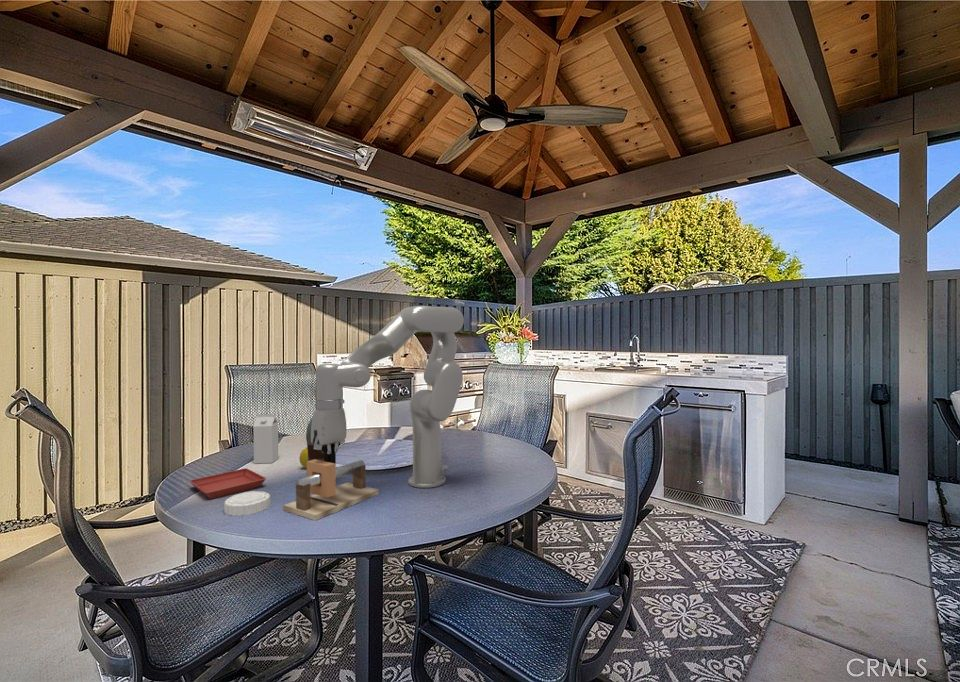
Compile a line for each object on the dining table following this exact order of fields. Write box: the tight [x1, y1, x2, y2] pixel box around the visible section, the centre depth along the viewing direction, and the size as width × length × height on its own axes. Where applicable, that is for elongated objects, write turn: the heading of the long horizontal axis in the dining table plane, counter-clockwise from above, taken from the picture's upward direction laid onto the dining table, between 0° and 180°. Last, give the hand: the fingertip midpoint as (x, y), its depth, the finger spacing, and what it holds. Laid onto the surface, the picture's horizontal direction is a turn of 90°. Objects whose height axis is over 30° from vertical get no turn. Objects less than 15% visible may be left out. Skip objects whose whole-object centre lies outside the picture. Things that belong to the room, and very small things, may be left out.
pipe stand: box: [282, 465, 380, 522], centre depth 136 cm, size 24×14×8 cm, turn 148°
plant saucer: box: [189, 468, 267, 499], centre depth 150 cm, size 18×18×3 cm
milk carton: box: [252, 413, 279, 465], centre depth 182 cm, size 7×7×19 cm
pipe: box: [296, 459, 366, 490], centre depth 136 cm, size 23×3×3 cm, turn 148°
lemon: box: [299, 447, 308, 469], centre depth 172 cm, size 6×6×8 cm
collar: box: [306, 459, 337, 497], centre depth 132 cm, size 3×9×9 cm, turn 58°
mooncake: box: [223, 490, 271, 517], centre depth 132 cm, size 12×12×4 cm
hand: (329, 465), depth 135 cm, fingers closed
